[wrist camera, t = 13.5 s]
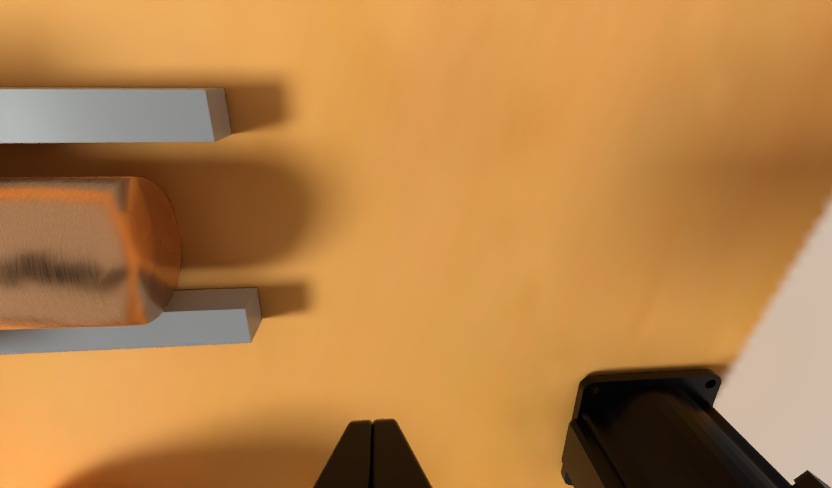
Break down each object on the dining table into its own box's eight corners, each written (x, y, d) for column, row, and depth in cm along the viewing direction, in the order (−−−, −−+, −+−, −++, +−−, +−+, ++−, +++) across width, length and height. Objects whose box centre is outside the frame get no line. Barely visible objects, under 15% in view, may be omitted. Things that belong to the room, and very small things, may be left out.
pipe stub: (-81, 332, 13) (-303, 339, 9) (-57, 202, 14) (-250, 151, 10) (176, 324, 14) (84, 326, 10) (185, 201, 15) (104, 152, 10)
